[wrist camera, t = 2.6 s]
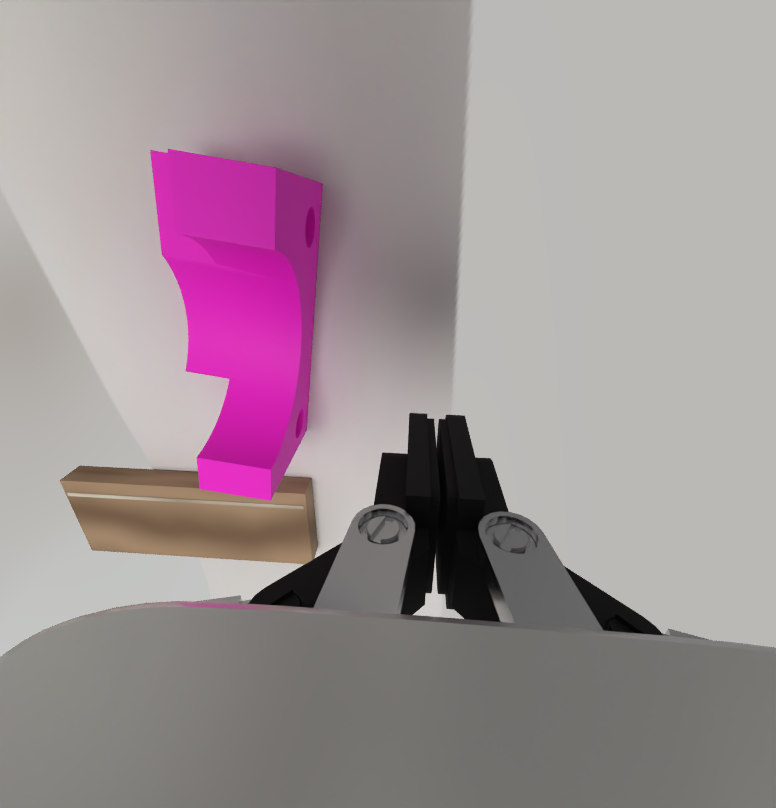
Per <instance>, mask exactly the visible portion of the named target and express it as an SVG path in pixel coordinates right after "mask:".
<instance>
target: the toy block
mask: <svg viewBox="0 0 776 808" xmlns="http://www.w3.org/2000/svg"><path fill="white" fill-rule="evenodd" d="M150 151H151V160H152V169H153V178H154V187H155V196H156V205H157V214H158V223H159V232H160V241H161V250H162V255H163V257H164V258H165V259H166V261H167V262H168V264H169V266H170V267H171V269H172V271H173V273H174V275H175V277H176V279H177V281H178V284H179V287H180V289H181V293H182V296H183V299H184V304H185V308H186V314H187V321H188V338H189V341H188V358H187V365H186V371H187V372H193V373H199V374H205V375H211V376H217V377H223V378H229V379H230V380H229V385H228V389H227V394H226V397H225V401H224V404H223V407H222V410H221V413H220V416H219V418H218V421H217V423H216V426H215V428H214V430H213V432H212V434H211V436H210V438H209V440H208V441H207V443H206V445H205V446H204V448H203V450H202V451H201V452H200V454H199V455H198V457H197V465H198V476H199V487H200V489H202V490H208V491H214V492H220V493H226V494H232V495H238V496H244V497H251V498H257V499H263V500H269V501H271V499H272V497H273V495H274V493H275V492H276V490H277V488H278V486H279V484H280V482H281V480H282V478H283V476H284V474H285V472H286V470H287V468H288V466H289V464H290V462H291V460H292V458H293V456H294V454H295V452H296V450H297V448H298V446H299V444H300V442H301V440H302V438H303V436H304V434H305V432H306V430H307V416H308V401H309V385H310V370H311V354H312V339H313V323H314V308H315V292H316V277H317V261H318V246H319V230H320V215H321V200H322V184H321V183H318V182H316V181H313V180H310V179H307V178H304V177H301V176H298V175H296V174H293V173H290V172H287V171H284V170H281V169H278V168H275V167H269V166H264V165H258V164H252V163H246V162H240V161H235V160H229V159H223V158H217V157H212V156H206V155H200V154H194V153H189V152H183V151H177V150H171V149H168V153H164V152H158V151H153V150H150Z"/></svg>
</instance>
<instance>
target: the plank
mask: <svg viewBox="0 0 776 808" xmlns="http://www.w3.org/2000/svg"><path fill="white" fill-rule="evenodd" d="M60 482H61V484H62V486H63V489H64V490H65V493H66V495H67V497H68V499H69V501H70V504H71V506H72V508H73V510H74V512H75V514H76V517H77V519H78V521H79V523H80V525H81V527H82V530H83V532H84V534H85V535H86V538H87V540H88V542H89V544H90V547H91V549H92V550H96V551H111V552H128V553H142V554H159V555H174V556H190V557H204V558H220V559H235V560H251V561H266V562H282V563H297V564H306V563H308V562H310V561H312V560H313V559H314V557H315V554H316V551H317V547H318V544H317V533H316V522H315V512H314V501H313V490H312V479H311V478H300V477H283V478H282V480H281V482H280V484H279V486H278V488H277V490H276V492H275V493H274V495H273V497H272V499H271V501H269V500H263V499H257V498H251V497H244V496H238V495H232V494H226V493H220V492H214V491H208V490H202V489H200V487H199V476H198V472H187V471H168V470H149V469H148V470H147V469H129V468H111V467H92V466H79V467H77V468H76V469H75V470H73V471H72V472H71V473H69V474H68V475H67V476H65V477H64V478H62V479H61V480H60Z"/></svg>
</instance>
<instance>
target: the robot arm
mask: <svg viewBox="0 0 776 808" xmlns="http://www.w3.org/2000/svg"><path fill="white" fill-rule="evenodd" d="M435 554H436V572H437V590H438V594H445V596H446V607H447V609H454V610H456V611H457V612H458V613H459V614H460V615H461V616H462V617H463V618H464V619H455V618H442V617H429V616H416V615H413V614H414V613H415V612H416V611H418V610H419V609H420V608H421V607H422V606H424V605H425V594H426V593H431V592H432V583H433V572H434V562H435ZM0 808H776V648H774V647H765V646H757V645H750V644H743V643H733V642H724V641H713V640H708V639H705V638H701V637H697V636H694V635H689V634H686V633H682V632H679V631H675V630H671V629H668V630H667V632H666V634H662V633H661V632H660V631H659V630H658V629H657V628H656V627H655V626H654V625H653V624H652V623H650V622H649V621H648V620H646V619H645V618H644V617H643V616H641V615H639V614H638V613H636V612H635V611H633V610H632V609H630V608H629V607H627V606H625V605H624V604H622V603H621V602H619V601H617V600H616V599H614V598H613V597H611V596H610V595H608V594H607V593H605V592H604V591H602V590H600V589H599V588H597V587H596V586H594V585H593V584H591V583H590V582H588V581H586V580H585V579H583V578H582V577H580V576H579V575H577V574H575V573H574V572H572V571H571V570H569V569H568V568H566V567H565V566H563V564H562V562H561V561H560V559H559V558H558V556H557V554H556V553H555V551H554V550H553V548H552V546H551V544H550V543H549V541H548V540H547V538H546V536H545V535H544V533H543V532H542V530H541V529H540V528H539V527H538V526H537V525H536V524H535V523H533V522H532V521H531V520H529V519H528V518H525V517H523V516H521V515H519V514H515V513H511V512H508V508H507V506H506V502H505V499H504V496H503V493H502V490H501V487H500V484H499V481H498V477H497V474H496V471H495V468H494V465H493V462H492V460H491V459H490V458H475V455H474V451H473V447H472V443H471V439H470V435H469V431H468V427H467V423H466V419H465V416H460V415H446V418H445V419H439V424H438V436H437V448H436V438H435V426H434V419H427V414H418V413H410V415H409V436H408V454H399V453H382V457H381V464H380V470H379V476H378V482H377V489H376V495H375V501H374V505H372V506H369V507H367V508H364V509H362V510H361V511H360V512H358V513H357V514H356V516H355V517H354V518H353V520H352V522H351V524H350V527H349V529H348V531H347V533H346V536H345V538H344V540H343V542H342V543H341V544H339V545H337V546H336V547H334V548H332V549H330V550H329V551H327V552H325V553H324V554H322V555H320V556H318V557H317V558H315V559H313V560H312V561H310V562H308V563H306V564H305V565H303V566H301V567H300V568H298V569H296V570H295V571H293V572H291V573H289V574H288V575H286V576H284V577H283V578H281V579H279V580H277V581H276V582H274V583H272V584H271V585H269V586H267V587H266V588H264V589H263V590H261V591H260V592H259V593H257V594H256V595H255V596H254V597H253V598H252V600H246V601H242V600H241V596H233V597H226V598H218V599H211V600H203V601H196V602H188V601H175V602H156V603H144V604H137V605H131V606H124V607H116V608H112V609H108V610H104V611H100V612H96V613H92V614H88V615H84V616H80V617H77V618H74V619H71V620H68V621H65V622H63V623H60V624H57V625H55V626H52V627H50V628H48V629H45V630H43V631H41V632H39V633H37V634H35V635H33V636H31V637H29V638H28V639H26V640H24V641H22V642H21V643H20V644H18V645H17V646H15V647H14V648H12V649H11V650H9V651H8V652H6V653H5V654H4V655H3V656H1V657H0Z"/></svg>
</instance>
